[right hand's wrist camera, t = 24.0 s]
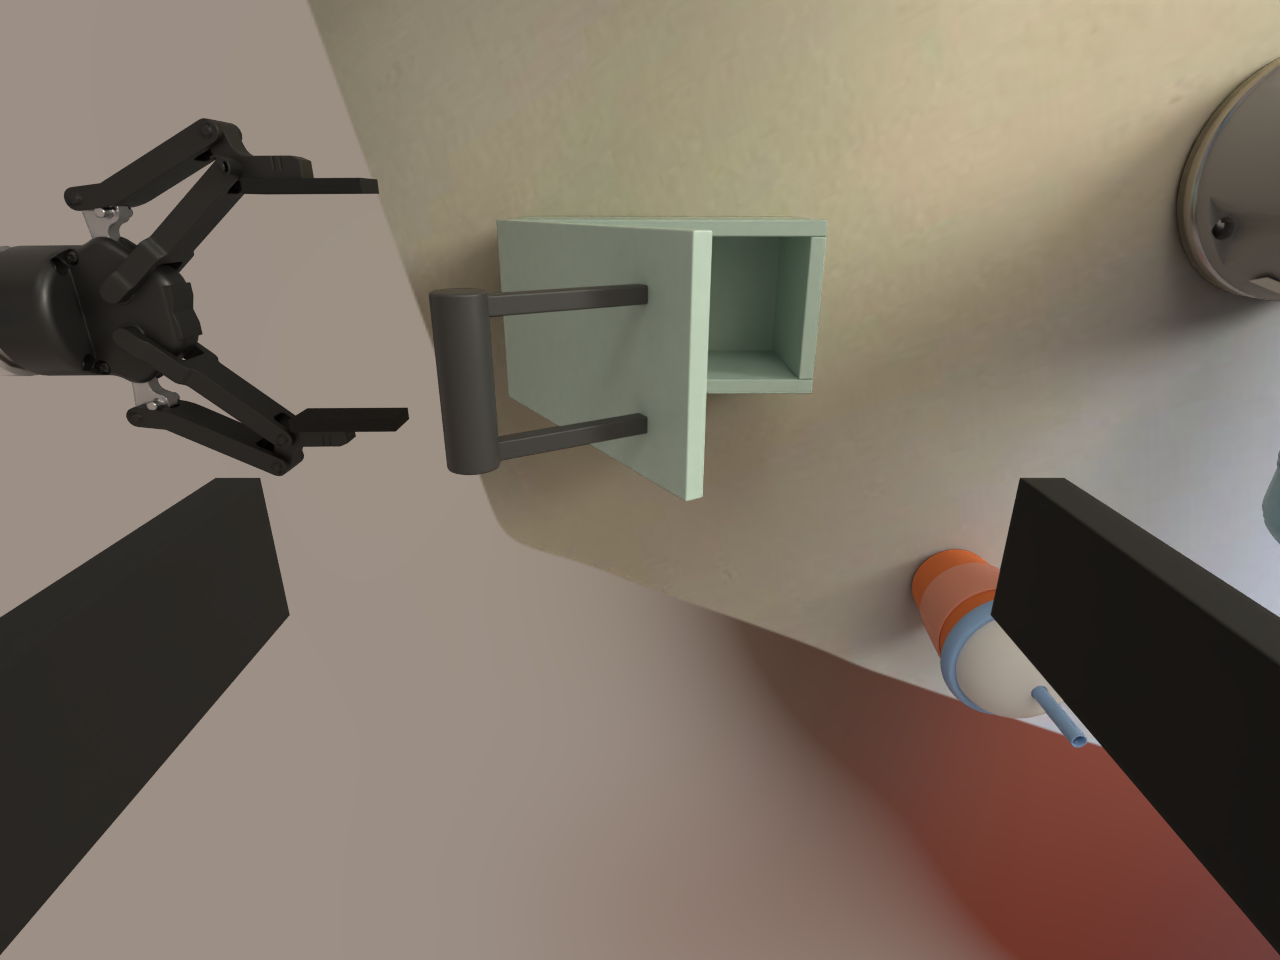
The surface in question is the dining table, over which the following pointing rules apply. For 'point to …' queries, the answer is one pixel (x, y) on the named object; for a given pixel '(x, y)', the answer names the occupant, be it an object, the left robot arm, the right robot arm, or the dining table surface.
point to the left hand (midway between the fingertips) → (387, 309)
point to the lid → (584, 349)
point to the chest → (754, 297)
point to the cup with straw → (981, 643)
